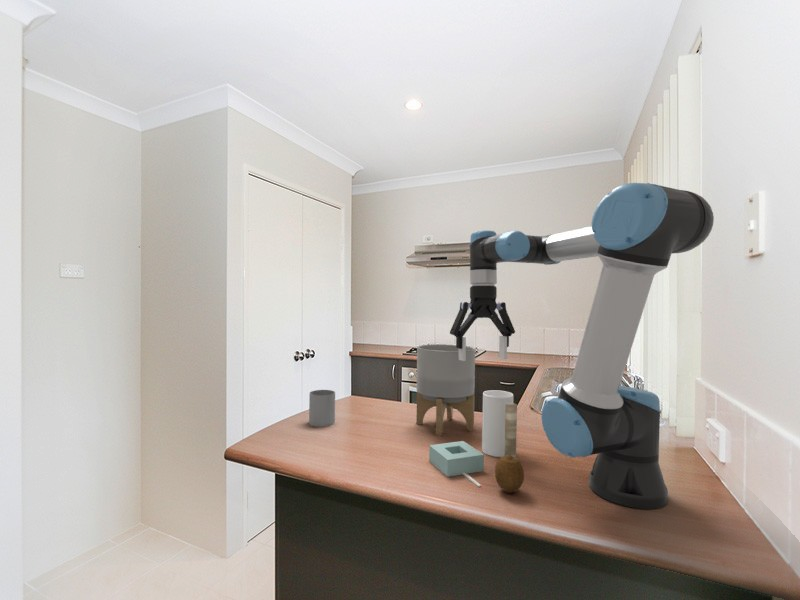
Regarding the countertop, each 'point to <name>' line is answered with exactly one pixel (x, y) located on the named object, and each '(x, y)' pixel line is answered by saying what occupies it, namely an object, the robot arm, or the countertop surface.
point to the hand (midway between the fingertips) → (483, 359)
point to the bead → (456, 458)
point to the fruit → (509, 473)
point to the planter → (445, 383)
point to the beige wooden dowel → (510, 429)
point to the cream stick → (472, 479)
